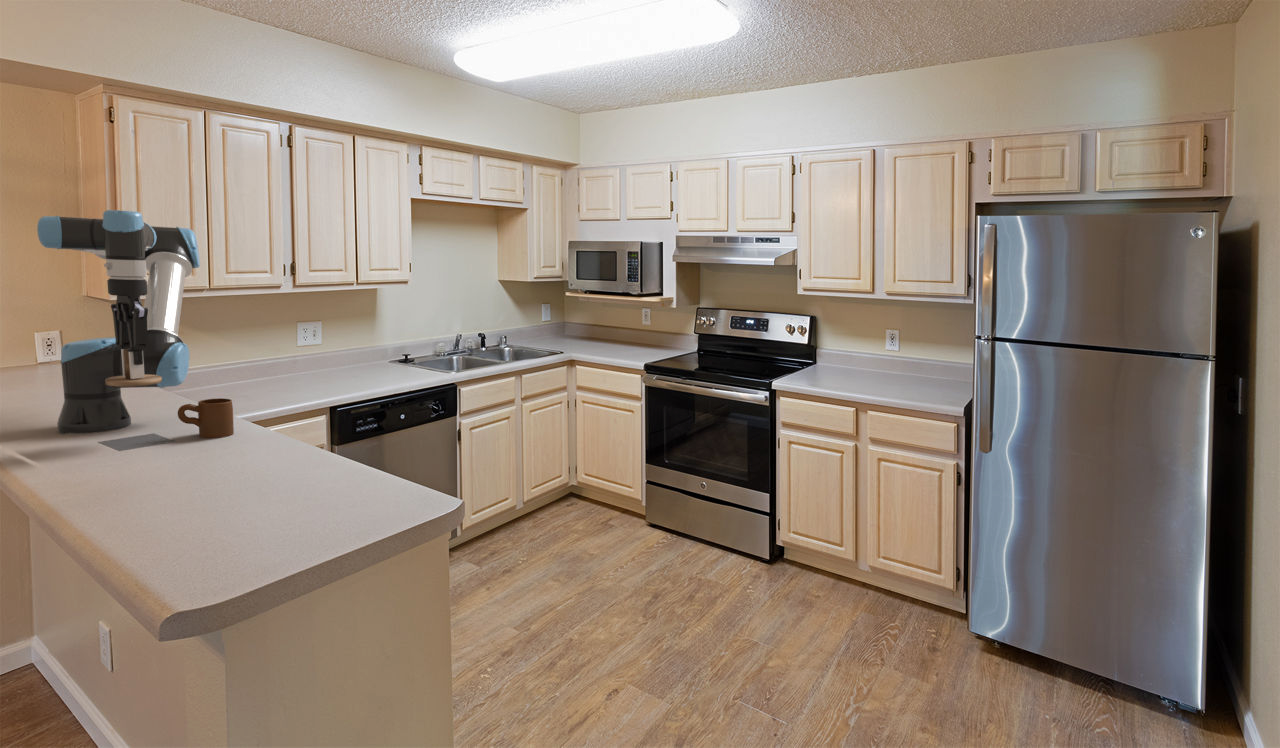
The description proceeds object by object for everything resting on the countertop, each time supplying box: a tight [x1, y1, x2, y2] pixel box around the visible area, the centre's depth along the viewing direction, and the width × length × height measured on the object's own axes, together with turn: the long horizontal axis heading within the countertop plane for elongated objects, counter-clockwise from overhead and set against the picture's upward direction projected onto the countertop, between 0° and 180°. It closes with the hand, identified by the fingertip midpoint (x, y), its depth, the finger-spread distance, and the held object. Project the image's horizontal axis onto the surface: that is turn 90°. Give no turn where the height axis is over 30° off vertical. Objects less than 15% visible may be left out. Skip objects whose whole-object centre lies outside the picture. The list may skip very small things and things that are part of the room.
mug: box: [177, 398, 235, 439], centre depth 178 cm, size 12×8×9 cm, turn 131°
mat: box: [97, 433, 177, 452], centre depth 171 cm, size 12×12×1 cm
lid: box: [105, 349, 162, 387], centre depth 168 cm, size 11×11×8 cm
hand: (133, 376), depth 169 cm, fingers closed on lid, 3 cm apart
